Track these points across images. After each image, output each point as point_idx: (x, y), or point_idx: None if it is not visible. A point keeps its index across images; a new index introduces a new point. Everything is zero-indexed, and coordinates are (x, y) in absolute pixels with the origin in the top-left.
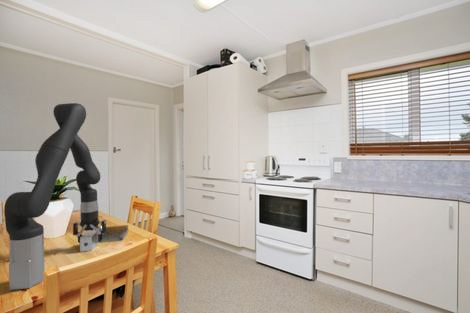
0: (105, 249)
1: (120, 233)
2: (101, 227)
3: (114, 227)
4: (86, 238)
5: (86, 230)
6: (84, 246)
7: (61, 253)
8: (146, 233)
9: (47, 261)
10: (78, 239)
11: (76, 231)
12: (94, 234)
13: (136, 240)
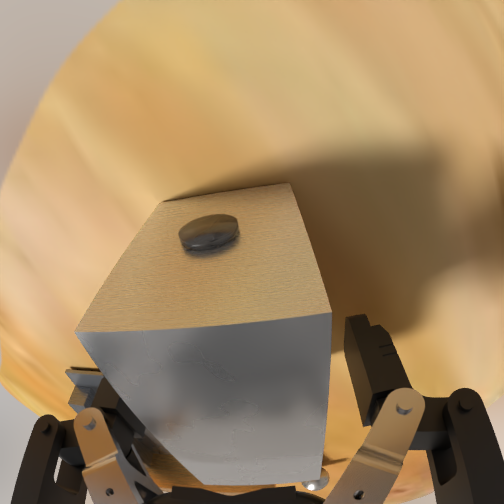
0: (56, 236)
1: (164, 447)
2: (309, 486)
3: (207, 487)
4: (177, 303)
5: (281, 493)
6: (236, 217)
7: (467, 185)
8: (40, 413)
9: (490, 27)
10: (387, 353)
11: (444, 450)
12: (142, 414)
13: (3, 351)
